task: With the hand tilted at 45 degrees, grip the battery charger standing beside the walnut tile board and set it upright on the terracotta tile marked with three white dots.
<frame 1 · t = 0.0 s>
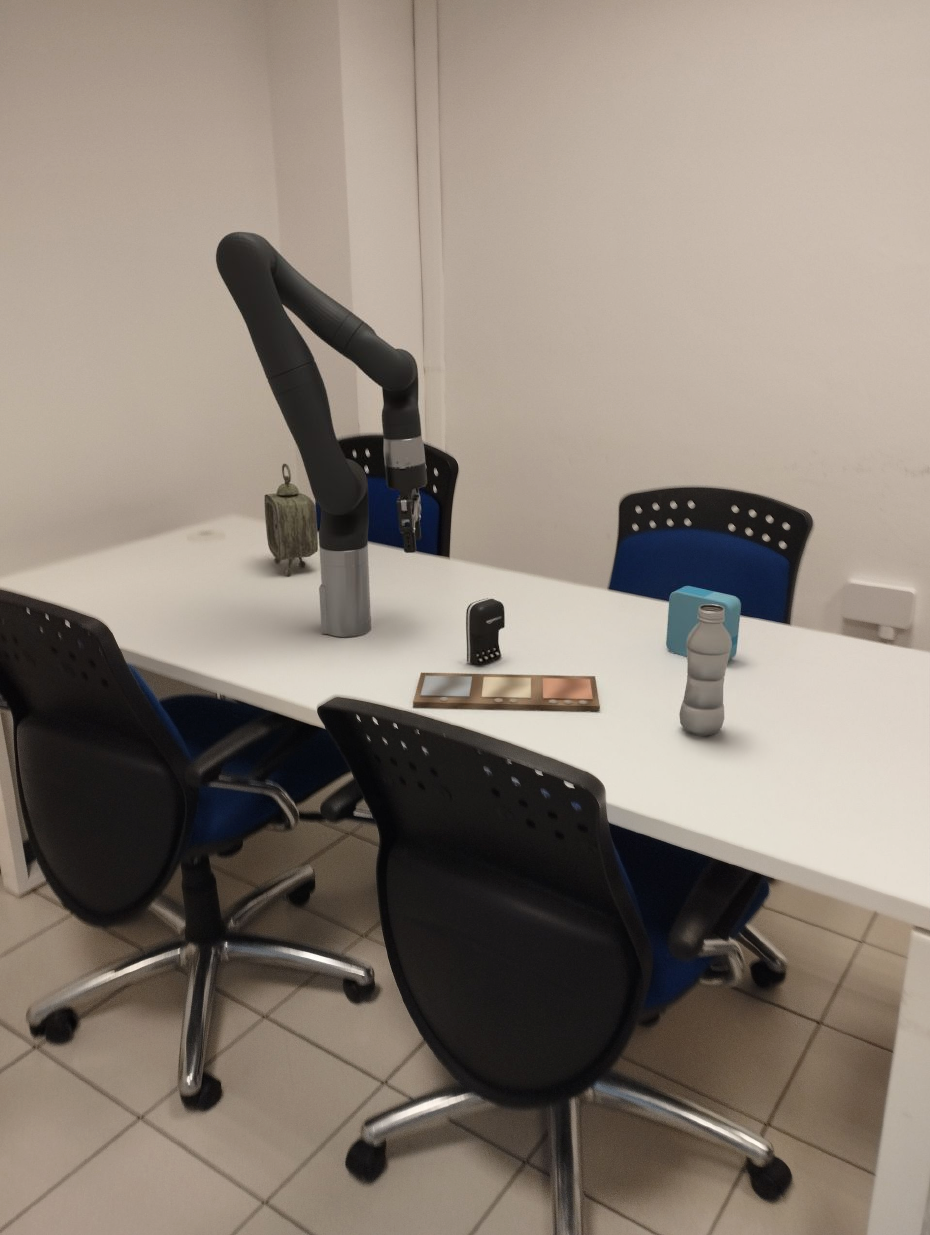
hand: (413, 545, 183), 17 cm above the table, tool pointing down, fingers open, 8 cm apart
battery charger: (486, 662, 174), on the table
plastic bottle: (700, 732, 147), on the table
data package: (700, 656, 176), on the table
tabletop clock: (294, 569, 228), on the table
tile board: (506, 694, 160), on the table
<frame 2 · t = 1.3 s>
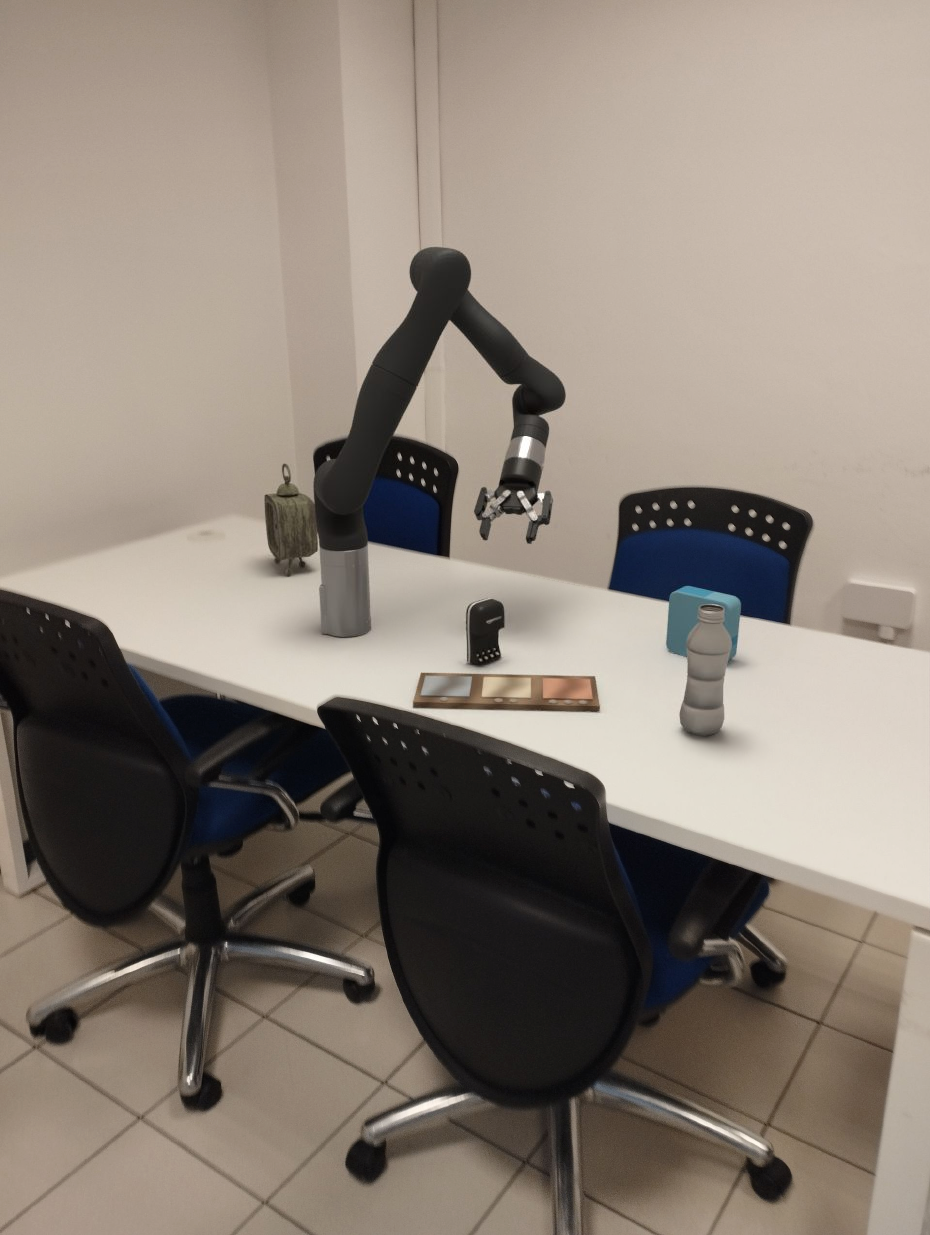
hand: (506, 540, 178), 20 cm above the table, tool tilted 45°, fingers open, 8 cm apart
nothing on the table moved.
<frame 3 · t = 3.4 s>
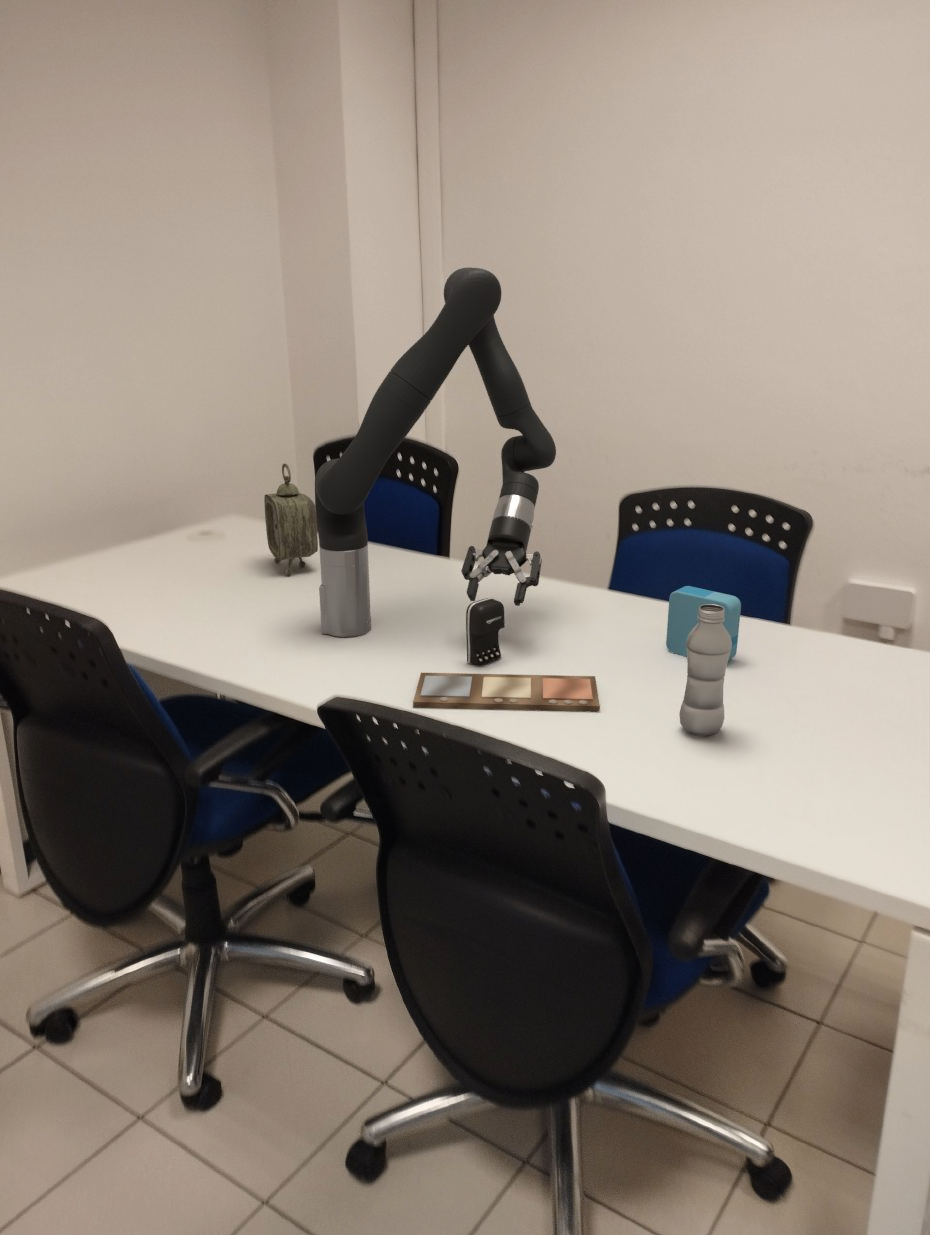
hand: (493, 601, 174), 10 cm above the table, tool tilted 45°, fingers open, 8 cm apart
nothing on the table moved.
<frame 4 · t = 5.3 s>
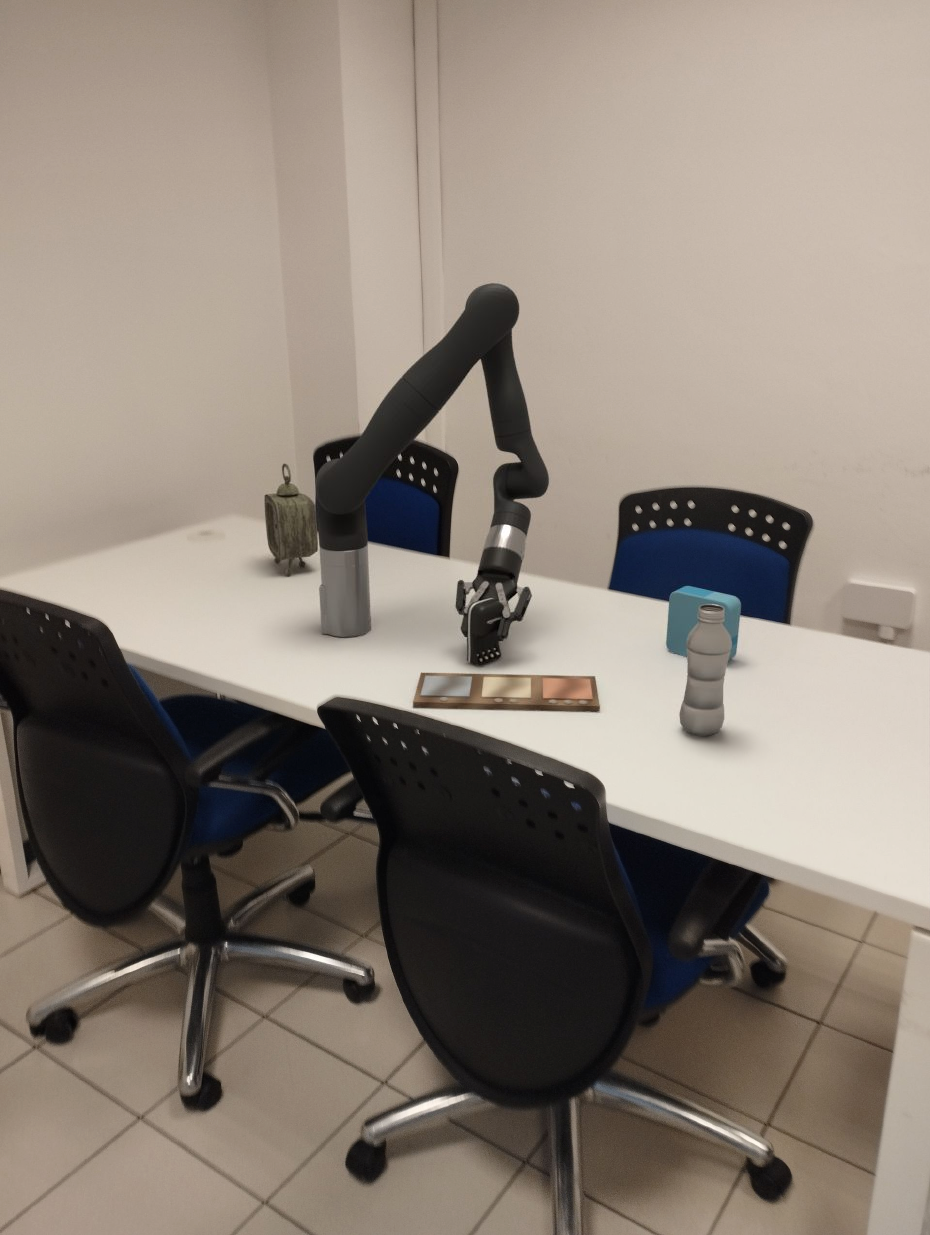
hand: (482, 637, 170), 5 cm above the table, tool tilted 45°, fingers closed on battery charger, 5 cm apart
battery charger: (486, 662, 174), on the table, touching gripper
everything else where it was.
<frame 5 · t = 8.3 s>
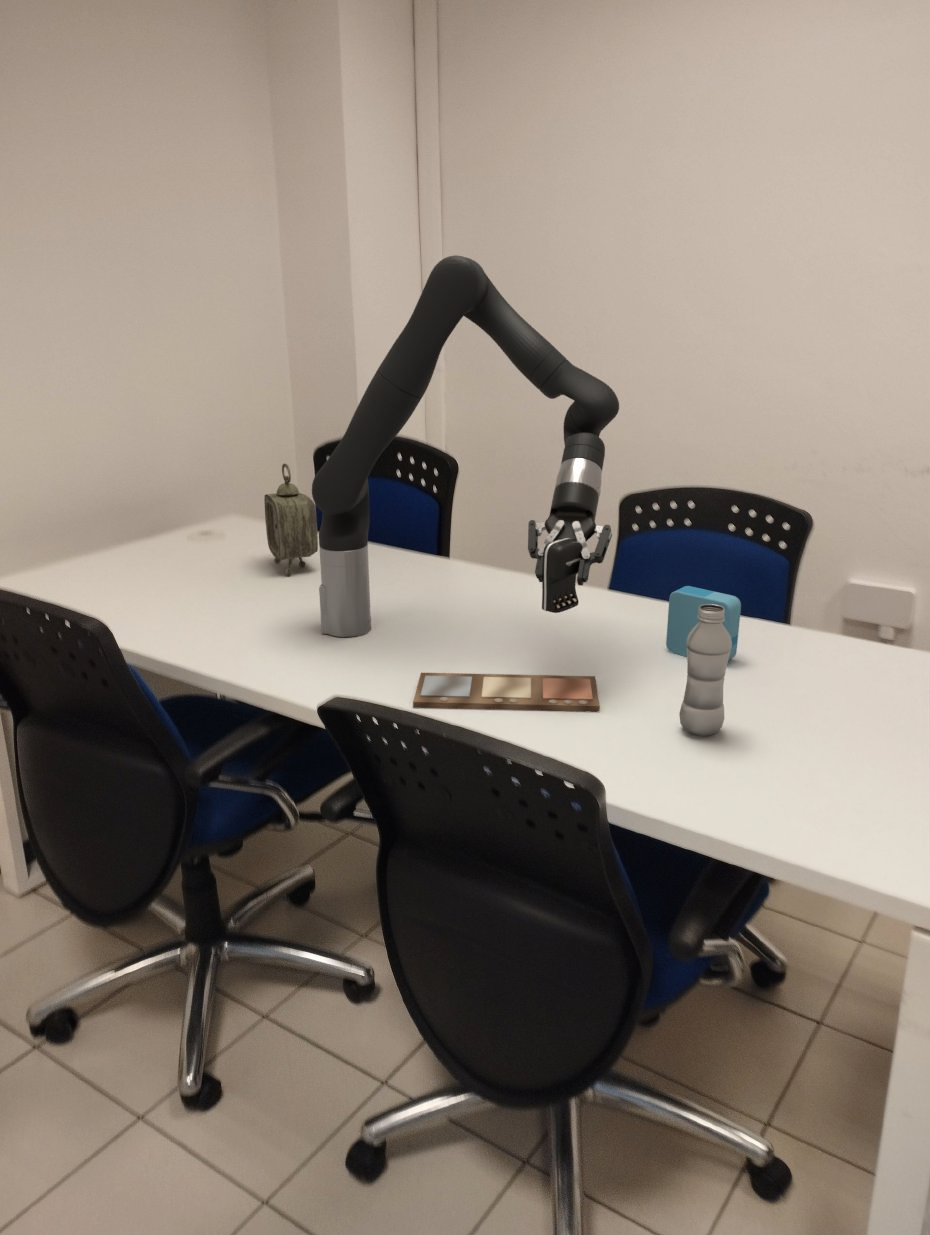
hand: (560, 581, 154), 20 cm above the table, tool tilted 45°, fingers closed on battery charger, 5 cm apart
battery charger: (562, 609, 157), point 14 cm above the table, touching gripper
everything else where it was.
when the fingers open (8 cm above the table, at t = 11.2 s): battery charger drops 1 cm, resting on tile board.
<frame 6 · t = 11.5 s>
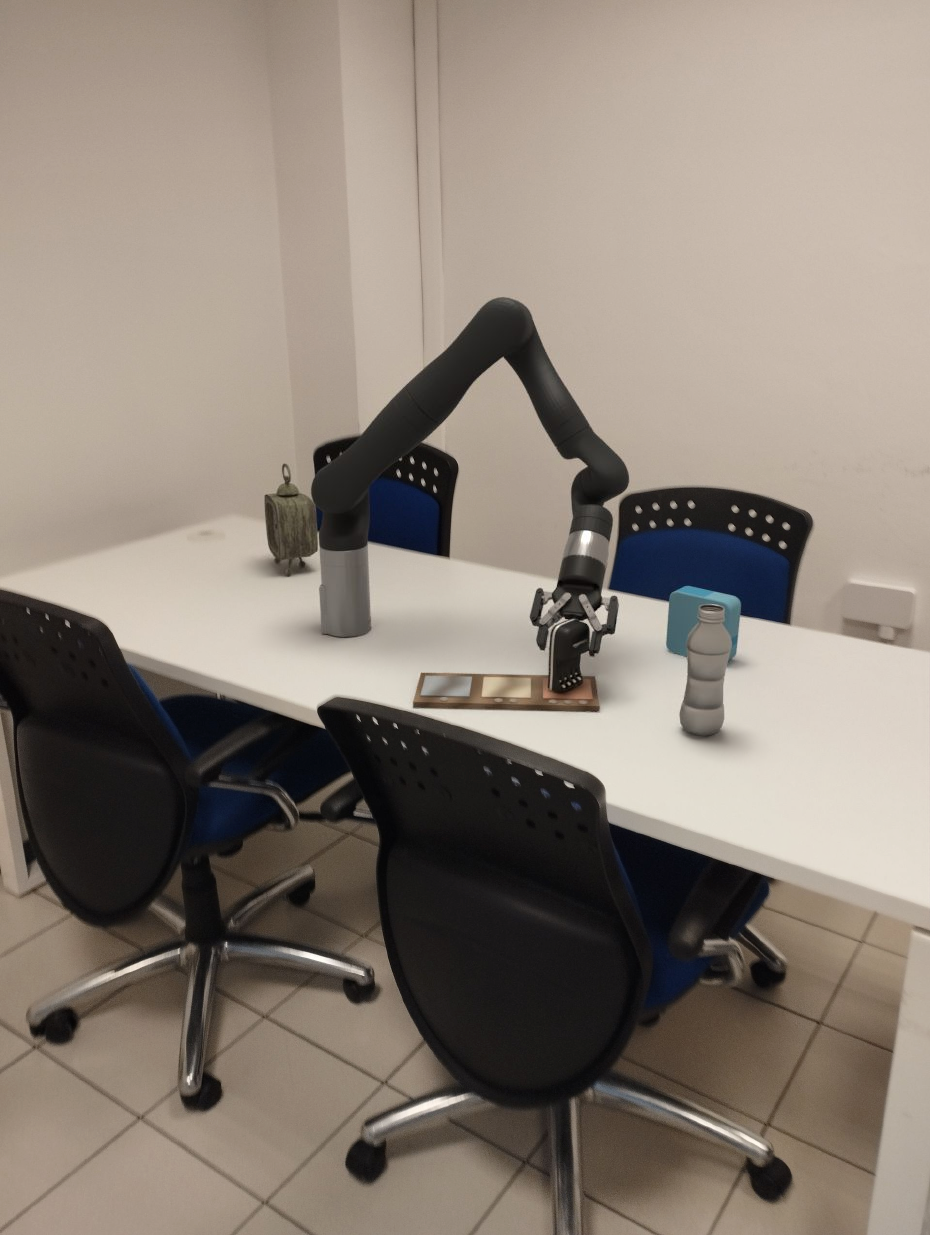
hand: (566, 651, 156), 8 cm above the table, tool tilted 45°, fingers open, 8 cm apart
battery charger: (567, 688, 160), point 1 cm above the table, touching tile board
everything else where it was.
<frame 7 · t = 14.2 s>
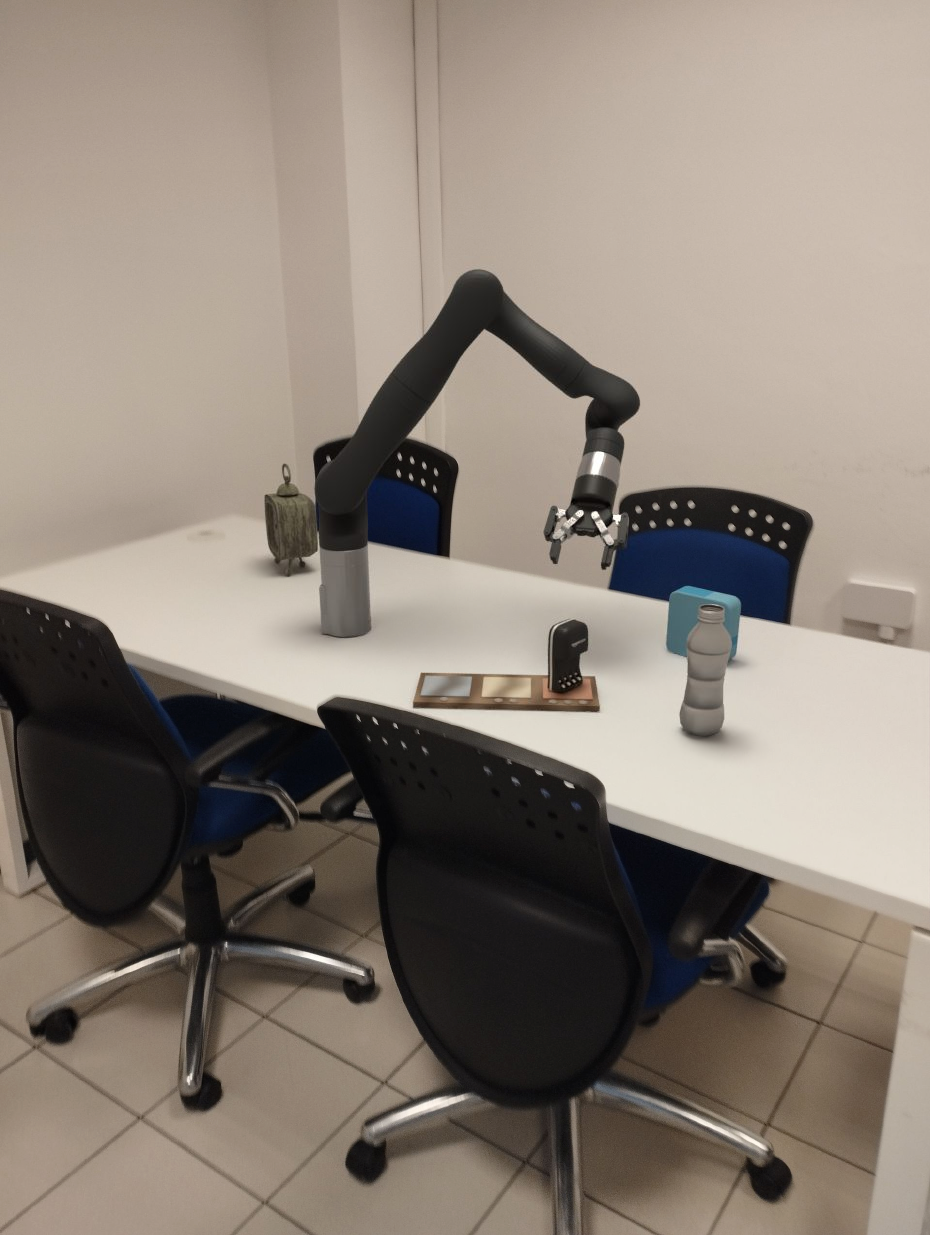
hand: (578, 564, 164), 19 cm above the table, tool tilted 45°, fingers open, 8 cm apart
nothing on the table moved.
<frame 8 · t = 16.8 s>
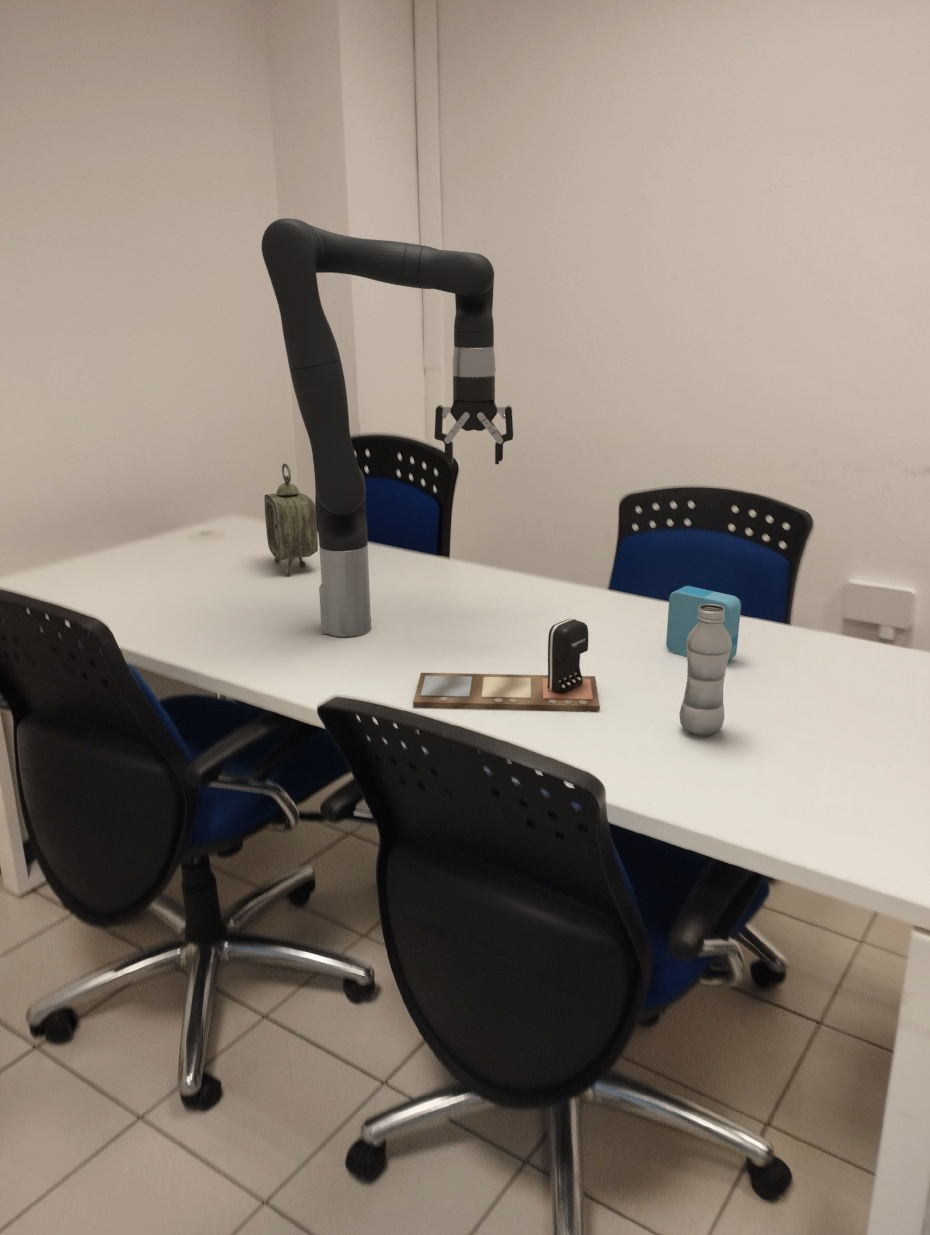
hand: (474, 463, 177), 33 cm above the table, tool pointing down, fingers open, 8 cm apart
nothing on the table moved.
at the end: battery charger inside the target area on the tile board (0.3 cm from its centre), point 1.1 cm above the tile board's base; battery charger tilted 0°; the gripper is holding nothing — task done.
